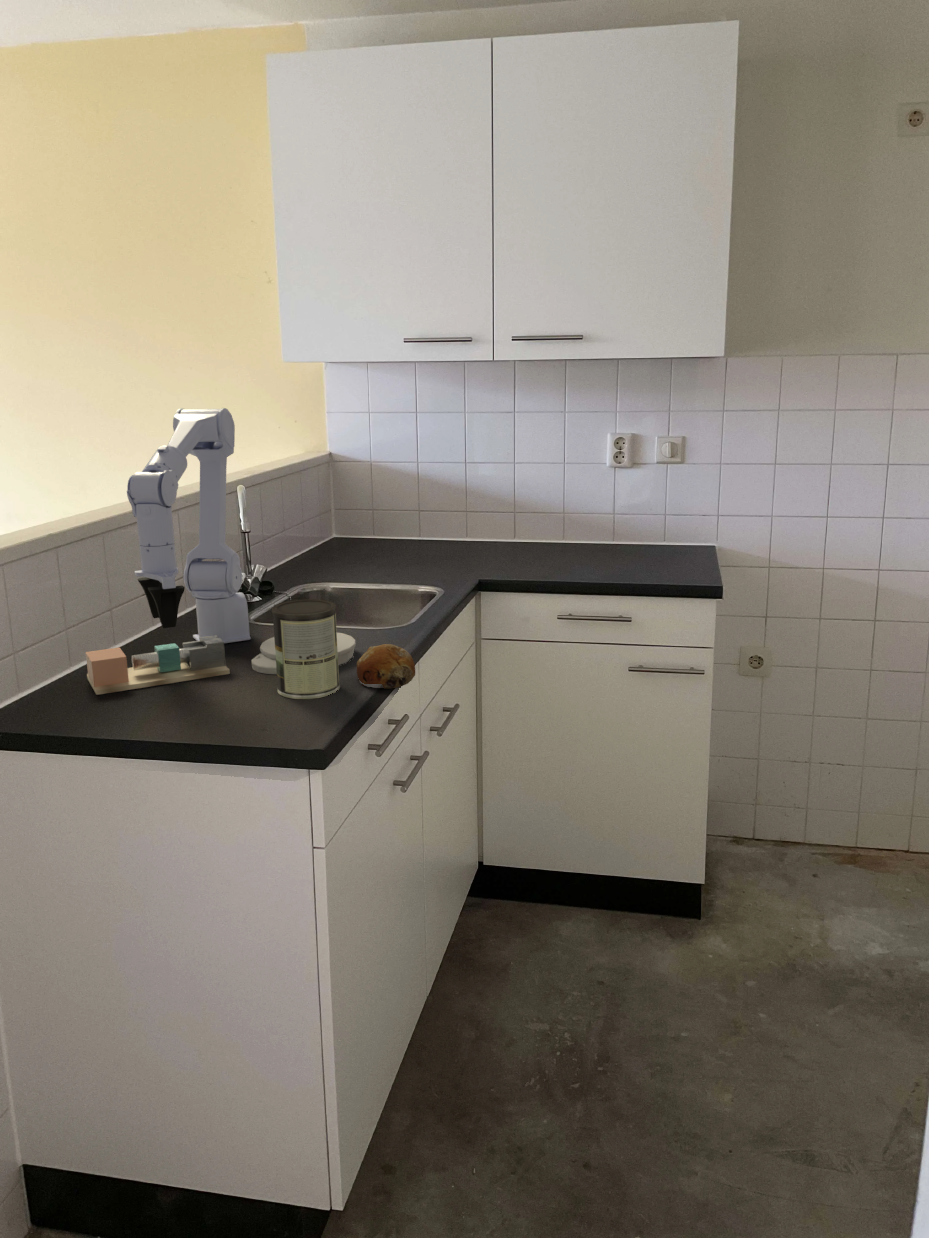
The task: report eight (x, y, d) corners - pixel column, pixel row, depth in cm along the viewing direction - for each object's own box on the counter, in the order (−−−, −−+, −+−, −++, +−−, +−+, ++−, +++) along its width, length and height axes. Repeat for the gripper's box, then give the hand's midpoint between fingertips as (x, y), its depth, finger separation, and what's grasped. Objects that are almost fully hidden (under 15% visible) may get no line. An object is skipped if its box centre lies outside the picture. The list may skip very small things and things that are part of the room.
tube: (219, 658, 176) (217, 637, 175) (224, 662, 174) (222, 641, 173) (132, 671, 169) (130, 649, 168) (136, 676, 167) (133, 654, 166)
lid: (228, 664, 177) (227, 648, 177) (314, 640, 192) (314, 625, 191) (289, 683, 166) (288, 666, 166) (376, 656, 181) (375, 641, 180)
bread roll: (416, 693, 171) (415, 648, 172) (414, 686, 161) (414, 638, 162) (359, 695, 170) (358, 649, 172) (353, 688, 160) (353, 639, 162)
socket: (122, 671, 170) (119, 647, 169) (128, 681, 165) (126, 656, 164) (88, 676, 168) (85, 651, 167) (94, 687, 162) (91, 661, 161)
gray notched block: (217, 658, 177) (216, 634, 176) (225, 665, 173) (223, 641, 172) (184, 663, 175) (182, 639, 173) (191, 671, 170) (189, 646, 169)
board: (214, 659, 180) (214, 655, 179) (229, 673, 171) (229, 669, 171) (87, 678, 169) (86, 674, 169) (96, 694, 161) (95, 690, 161)
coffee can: (263, 691, 162) (258, 607, 158) (311, 676, 169) (306, 596, 166) (306, 704, 155) (301, 617, 152) (353, 687, 163) (349, 604, 159)
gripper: (124, 539, 170) (132, 616, 173) (140, 552, 157) (148, 635, 161) (166, 535, 173) (172, 610, 176) (185, 548, 160) (192, 629, 164)
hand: (164, 622), depth 169 cm, fingers open, 7 cm apart
